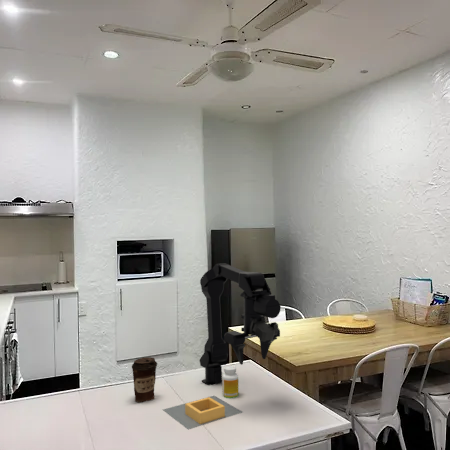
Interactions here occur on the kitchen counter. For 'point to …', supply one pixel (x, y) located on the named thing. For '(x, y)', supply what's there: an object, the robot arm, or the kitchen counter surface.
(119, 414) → the kitchen counter surface
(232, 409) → the slate board
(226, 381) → the supplement bottle
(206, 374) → the robot arm
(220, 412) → the orange collar
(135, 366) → the coffee cup
